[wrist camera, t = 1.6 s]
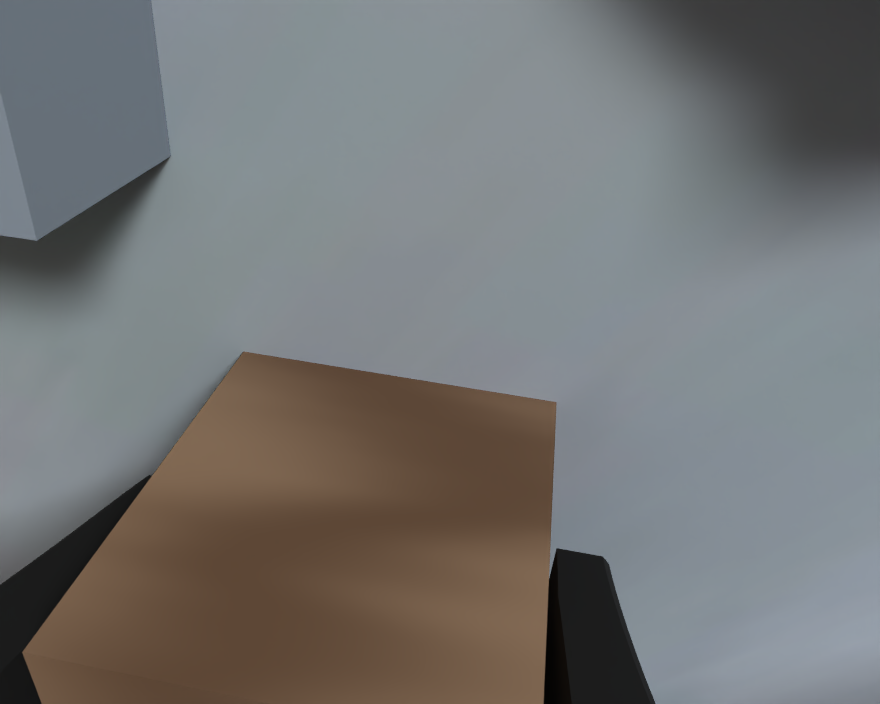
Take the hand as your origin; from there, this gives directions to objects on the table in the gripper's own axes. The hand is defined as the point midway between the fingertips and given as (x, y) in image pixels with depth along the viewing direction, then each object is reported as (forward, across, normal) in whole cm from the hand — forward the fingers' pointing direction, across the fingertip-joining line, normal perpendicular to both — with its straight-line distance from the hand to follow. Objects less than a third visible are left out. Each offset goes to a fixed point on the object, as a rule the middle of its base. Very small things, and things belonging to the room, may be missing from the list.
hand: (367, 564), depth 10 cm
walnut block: (+2, 0, 0) cm, 2 cm away
